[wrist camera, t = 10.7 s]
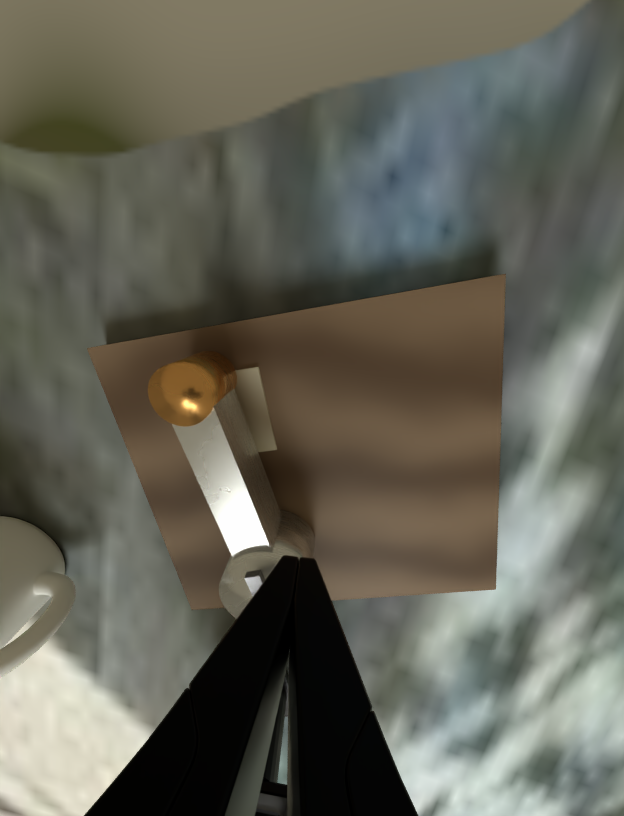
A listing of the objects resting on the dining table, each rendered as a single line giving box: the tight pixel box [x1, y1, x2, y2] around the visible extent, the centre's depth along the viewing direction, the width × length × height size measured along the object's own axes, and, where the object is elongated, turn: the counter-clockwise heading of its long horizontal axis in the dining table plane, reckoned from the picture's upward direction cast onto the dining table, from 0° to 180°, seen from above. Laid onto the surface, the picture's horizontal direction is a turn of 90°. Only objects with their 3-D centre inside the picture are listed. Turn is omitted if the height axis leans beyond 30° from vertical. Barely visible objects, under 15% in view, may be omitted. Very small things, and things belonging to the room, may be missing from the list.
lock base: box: [87, 274, 506, 610], centre depth 19 cm, size 20×22×2 cm
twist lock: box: [148, 351, 315, 619], centre depth 16 cm, size 15×5×4 cm, turn 16°
